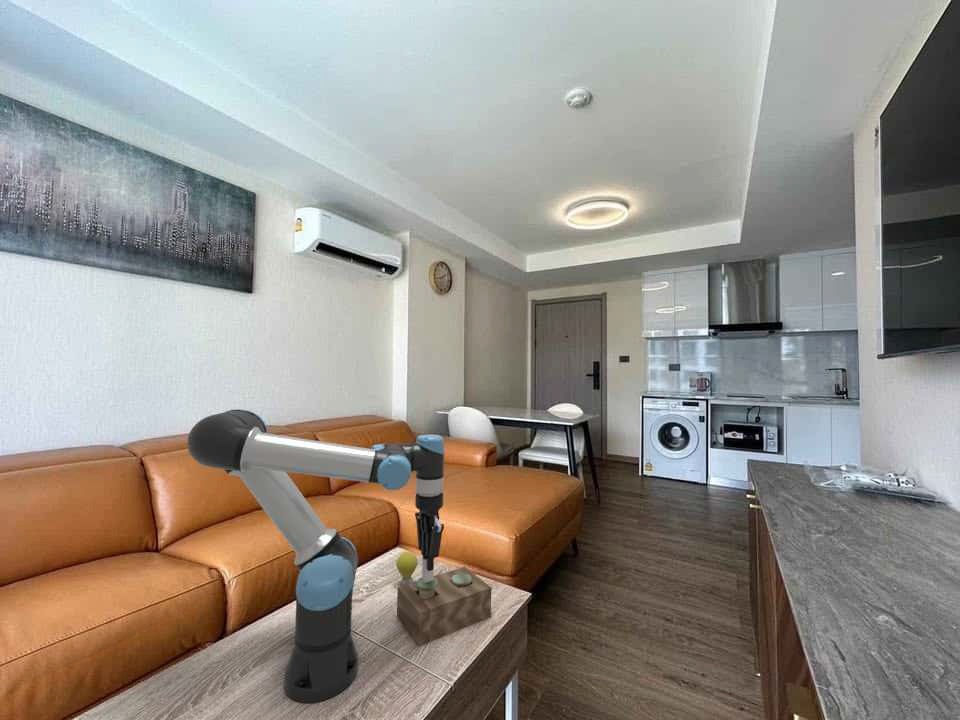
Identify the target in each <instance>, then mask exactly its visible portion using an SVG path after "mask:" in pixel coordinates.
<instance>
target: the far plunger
mask: <svg viewBox="0 0 960 720" xmlns="http://www.w3.org/2000/svg"><path fill="white" fill-rule="evenodd" d="M452 583H453V584H454V585H455V586H457V587H458V588H461V587H464V586H467V585H468V584H470V583H471V576H470V575H469V574H466V573H457V574H455V575H453V576H452Z"/></svg>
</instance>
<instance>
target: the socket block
mask: <svg viewBox="0 0 960 720" xmlns="http://www.w3.org/2000/svg"><path fill="white" fill-rule="evenodd" d="M457 573H466V574H469V575H470V576H471V583H470V584H468V585H467V586H464V587H461V588H458V587H457V586H455V585H454V584H453V583H452V576H453V575H455V574H457ZM434 578H436V579H437V581H438V584H437V587H436V588H434V597H431V598H428V599H425V600H422V599H421V598H420V597H419V591H420V589H419V588H418V587H417V580H416V581H413V582H410V583H409V584H406V585H403V584H402V585H400V586H398V587H397V593H396V594H397V595H396V597H397V601H396V618H397V619H398V620H399V622H400V624H401V625H403V627H404V629H405V631H407V632H408V634H409V635H410V636H411V638H412V639H413V640H414V642H415V643H416V645H417V646H418V647H420V646H422V645H426V644H427V643H429V642H432V641H434V640H437V639H439V638H443V637H444V636H447V635H449V634H451V633H452V634H453V633H454V632H457V631H459V630H461V629H462V630H463V629H464V628H467V627H469V626H472V625H474V624H477V623H479V622H482V621H483V620H484V621H485V620H486V619H489V618H492V587H491V586H490V585H489V584H488V583H486V582H485V581H484V580H483V579H481V578H480V577H479V576H478V575H476V574H475V573H474V572H473V571H472V570H470V569H468V568H467V567H466V566H463V567H459V568H455V569H452V570H450V571H446V572H443V573H440V574H436V575H434Z"/></svg>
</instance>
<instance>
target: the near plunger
mask: <svg viewBox="0 0 960 720" xmlns="http://www.w3.org/2000/svg"><path fill="white" fill-rule="evenodd" d="M416 581H417V587H418V588H419V589H420V591H419V597H420V598H421V599H422V600H425V599H428V598H431V597H434V588H436V587H437V584H438V581H437V579H436V578H433V581H430V582H427V583H424V582H423V581H422V576H421V577H419V578H418V579H417V580H416Z"/></svg>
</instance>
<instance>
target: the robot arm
mask: <svg viewBox="0 0 960 720" xmlns="http://www.w3.org/2000/svg"><path fill="white" fill-rule="evenodd" d="M444 442H445V441H444V438H443V437H442V436H441V435H438V434H420V435H417V437H416V441H415V442H413V443H411V442H410V443H386V442H385V443H382V444H381V443H379V444H374V445H372V446H371V448H366V447H360V446H355V445H354V446H353V445H347V444H340V443H334V442H327V441H320V440H313V439H307V438H301V437H294V436H288V435H281V434H275V433H268V428H267V425H266V422H265V421H264V419H263V418H262V417H261V416H260V415H259V414H258V413H256V412H254V411H252V410H249V409H242V408H241V409H230V410H227V411H224V412H220V413H215V414H210V415H209V416H206V417H204V418H202V419H201V420H199V421H198V422H197V423H196V424H195V425H194V426H193V427H192V428H191V430H190V431H189V433H188V436H187V441H186V446H187V451H188V453H189V454H190V457H192V458H193V460H195V461H196V462H197V463H198V464H200V465H202V466H205V467H208V468H214V469H220V470H224V471H225V472H226V474H227V475H228V476H237V477H239V479H241V481H242V483H244V485H245V486H246V488H247V489H248V491H249V492H250V493H251V494H252V496H253V497H254V499H255V500H256V501H257V503H258V504H259V505H260V507H261V508H262V510H263V511H264V512H265V514H266V515H267V516H268V517H269V518H270V520H271V521H272V523H273V524H274V525H275V527H276V528H277V530H278V531H279V532H280V533H281V535H282V536H283V538H284V539H285V540H286V542H287V543H288V545H289V546H290V548H292V549H293V551H294V552H295V559H294V561H293V562H294V565H295V566H296V568H297V569H298V571H299V573H298V577H297V581H296V585H295V596H296V599H295V600H296V603H295V622H294V626H295V629H294V644H293V647H292V648H293V649H292V650H291V653H290V656H289V659H288V662H287V664H286V667H285V672H284V675H283V676H284V678H283V687H284V688H283V689H284V692H285V693H286V696H288V697H289V698H290V699H292V700H294V701H297V702H300V703H317V702H321V701H325V700H328V699H330V698H333V697H335V696H336V695H338V694H340V693H341V692H342V691H344V690H345V689H347V688H348V687H349V686H350V685H351V684H352V683H353V681H354V679H355V677H356V676H357V674H358V669H359V668H358V667H359V656H358V652H357V651H358V650H357V648H356V645H355V642H354V639H353V636H352V615H353V613H352V610H353V593H354V585H355V581H356V580H355V579H356V574H357V570H358V564H359V562H358V561H359V557H358V552H357V550H356V547H355V545H354V544H353V542H351V541H350V540H349V539H348V538H346V537H344V536H341V535H340V533H339V531H337V530H336V529H335V528H327V526H325V524H324V523H323V521H322V520H321V519H320V517H319V515H318V514H317V513H316V511H315V510H314V508H313V507H312V506H311V505H310V503H309V502H308V500H307V499H306V498H305V497H304V495H303V493H302V492H301V490H299V488H298V487H297V485H296V484H295V483H294V481H293V480H292V479H291V477H290V475H288V473H291V474H292V473H293V474H300V475H301V474H302V475H306V476H307V475H308V476H317V477H325V478H331V479H340V480H347V481H355V482H362V483H371V484H377V485H380V486H381V487H383V488H384V489H386V490H387V491H397V490H401V489H402V488H404V487H405V486H406V485H407V484H408V482H410V478H411V476H412V472H413V473H414V472H415V473H416V474H415V492H416V494H415V508H416V509H417V510H419V511H418V512H415V513H414V518H415V521H416V533H417V545H418V546H417V547H418V551H420V554H421V555H422V560H421V561H422V563H421V564H422V570H421V577H422V581H423V582H424V583H427V582H430V581H433V578H434V576H435V575H434V573H435V571H434V570H435V569H434V568H435V567H434V566H435V564H434V563H435V558H438V557H440V551H441V543H442V537H443V532H444V529H445V525H444V523H440V513H439V511H440V509H441V508H443V506H444V493H443V491H444V481H445V478H444V471H445V469H444V468H445V443H444Z"/></svg>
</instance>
